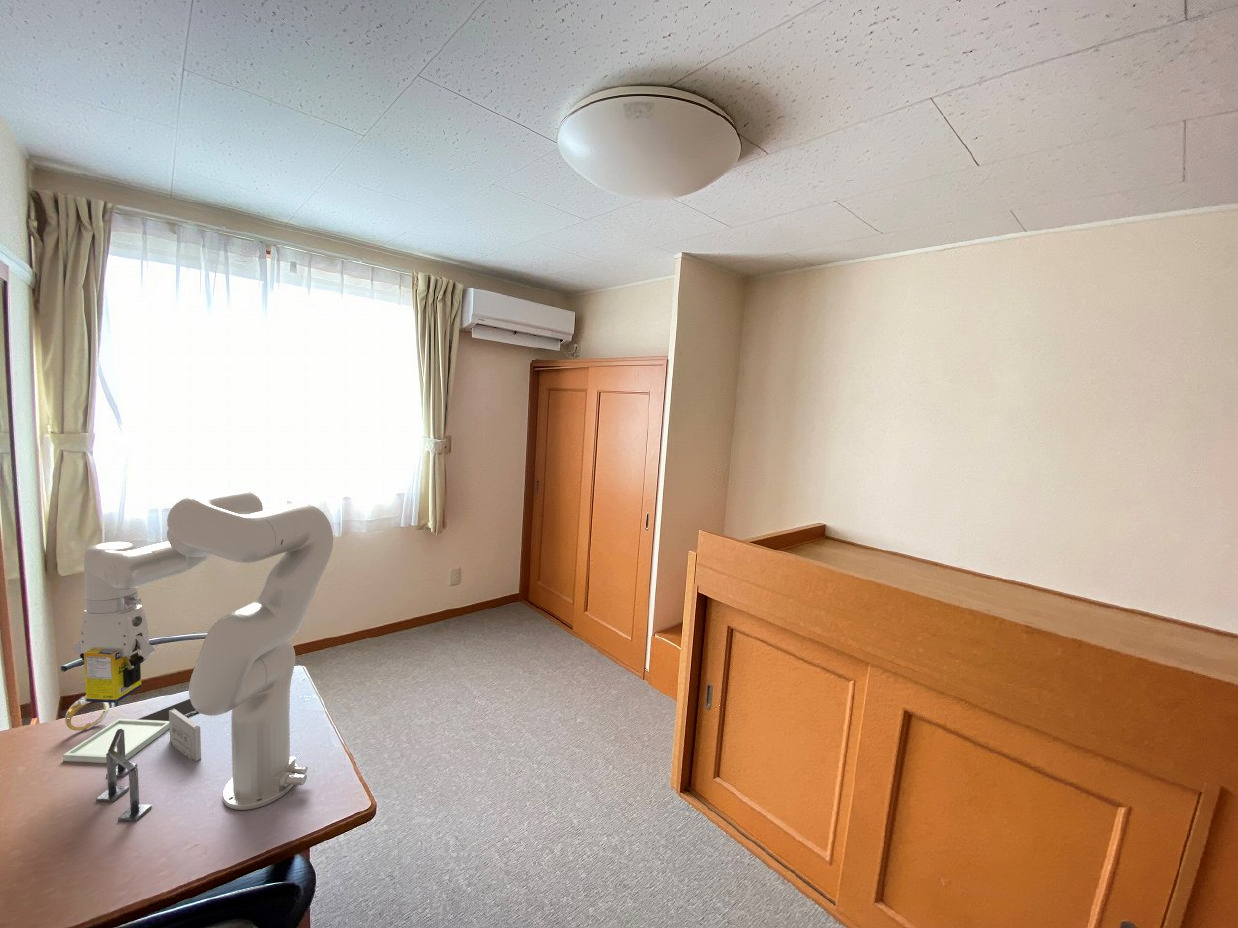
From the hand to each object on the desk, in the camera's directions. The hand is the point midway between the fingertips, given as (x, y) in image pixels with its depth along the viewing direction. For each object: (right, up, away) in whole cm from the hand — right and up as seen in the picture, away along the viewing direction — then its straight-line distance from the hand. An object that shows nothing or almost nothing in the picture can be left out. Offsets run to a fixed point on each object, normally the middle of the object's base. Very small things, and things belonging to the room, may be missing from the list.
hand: (115, 681), depth 104 cm
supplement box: (0, -3, 0) cm, 3 cm away
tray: (-5, -16, +6) cm, 18 cm away
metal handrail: (+10, -19, -7) cm, 22 cm away
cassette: (+10, -18, +5) cm, 21 cm away
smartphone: (-2, -16, +16) cm, 22 cm away
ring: (-16, -15, +9) cm, 24 cm away
